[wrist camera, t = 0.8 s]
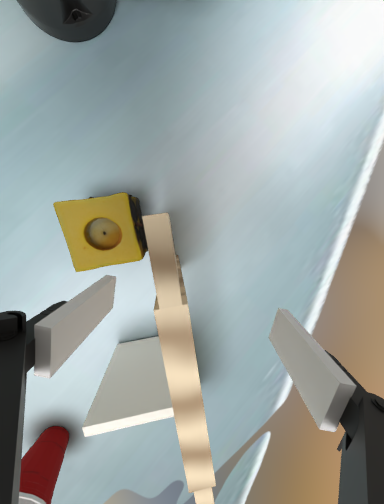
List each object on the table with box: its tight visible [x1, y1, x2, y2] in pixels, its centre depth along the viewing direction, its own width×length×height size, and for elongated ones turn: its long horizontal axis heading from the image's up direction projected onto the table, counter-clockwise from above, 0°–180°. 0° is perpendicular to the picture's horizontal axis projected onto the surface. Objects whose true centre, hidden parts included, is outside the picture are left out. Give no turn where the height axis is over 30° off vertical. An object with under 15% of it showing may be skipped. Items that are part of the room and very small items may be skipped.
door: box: [82, 336, 174, 437], centre depth 32 cm, size 14×3×16 cm, turn 98°
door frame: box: [142, 213, 216, 504], centre depth 29 cm, size 40×3×22 cm, turn 8°
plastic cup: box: [18, 426, 69, 504], centre depth 36 cm, size 11×11×12 cm
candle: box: [53, 192, 148, 272], centre depth 31 cm, size 10×10×10 cm
